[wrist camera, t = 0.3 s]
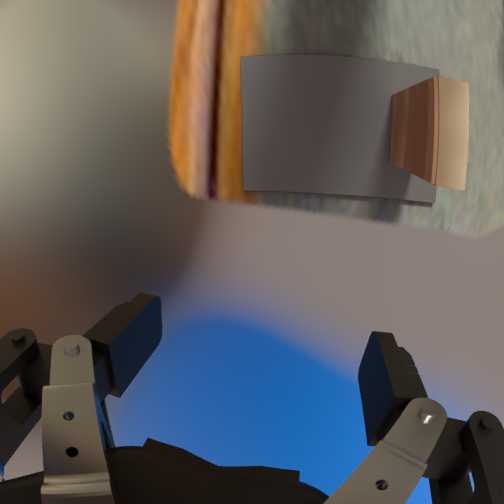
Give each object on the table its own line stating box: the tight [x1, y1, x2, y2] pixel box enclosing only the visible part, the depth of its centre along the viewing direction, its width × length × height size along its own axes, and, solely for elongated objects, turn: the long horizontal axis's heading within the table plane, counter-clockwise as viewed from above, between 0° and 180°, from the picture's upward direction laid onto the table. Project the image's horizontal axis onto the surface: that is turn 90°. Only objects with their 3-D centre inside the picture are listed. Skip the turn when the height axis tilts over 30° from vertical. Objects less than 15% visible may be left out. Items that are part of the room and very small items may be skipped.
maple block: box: [390, 76, 469, 190], centre depth 20 cm, size 2×7×12 cm, turn 1°
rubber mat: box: [241, 54, 440, 203], centre depth 27 cm, size 20×14×1 cm
